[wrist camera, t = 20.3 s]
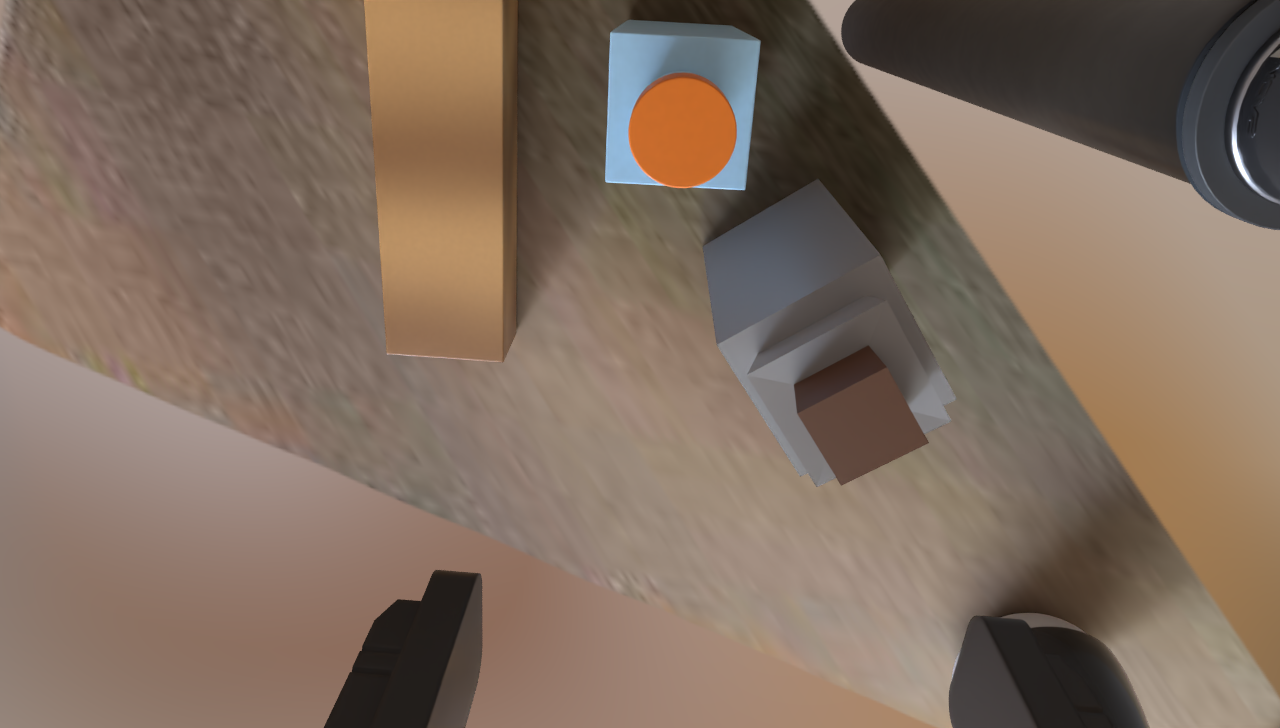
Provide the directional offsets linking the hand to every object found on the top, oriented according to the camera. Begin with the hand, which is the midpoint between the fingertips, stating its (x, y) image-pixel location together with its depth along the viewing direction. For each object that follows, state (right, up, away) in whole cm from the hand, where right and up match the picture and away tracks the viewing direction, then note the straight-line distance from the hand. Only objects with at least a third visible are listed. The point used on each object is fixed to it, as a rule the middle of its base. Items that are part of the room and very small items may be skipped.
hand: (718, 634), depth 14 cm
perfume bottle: (+7, +10, +31) cm, 33 cm away
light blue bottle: (0, +12, +20) cm, 23 cm away
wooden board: (-10, +16, +28) cm, 34 cm away
